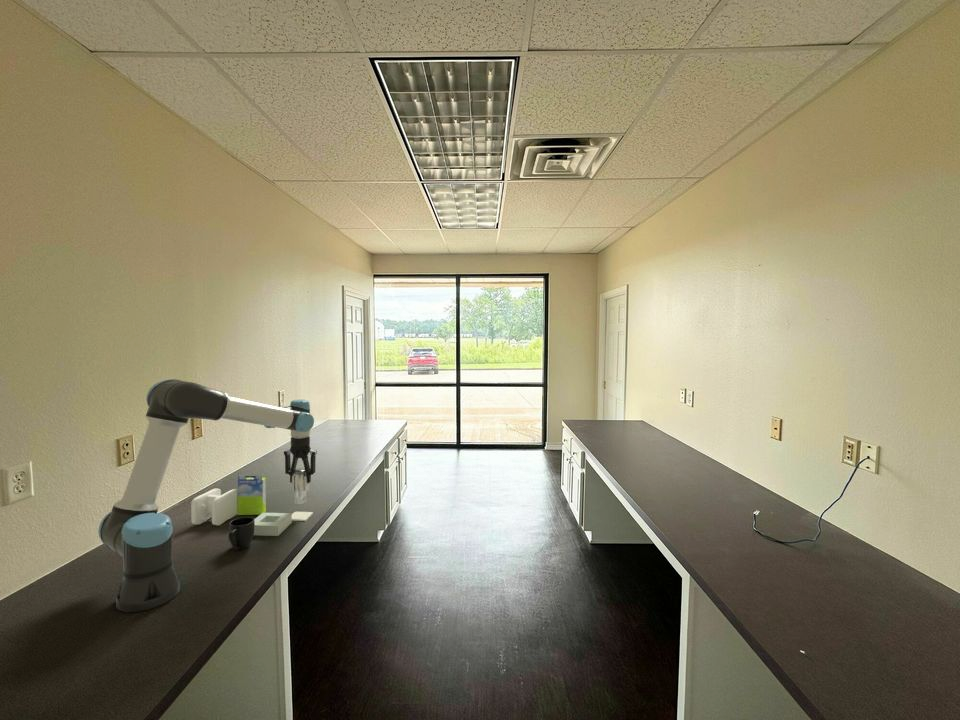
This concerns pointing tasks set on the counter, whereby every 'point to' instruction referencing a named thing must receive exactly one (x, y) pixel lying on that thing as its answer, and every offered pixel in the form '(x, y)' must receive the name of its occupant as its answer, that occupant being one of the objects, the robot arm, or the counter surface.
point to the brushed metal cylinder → (299, 486)
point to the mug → (241, 532)
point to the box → (251, 495)
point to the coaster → (301, 516)
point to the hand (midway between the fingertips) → (300, 489)
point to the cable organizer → (214, 506)
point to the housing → (272, 523)
